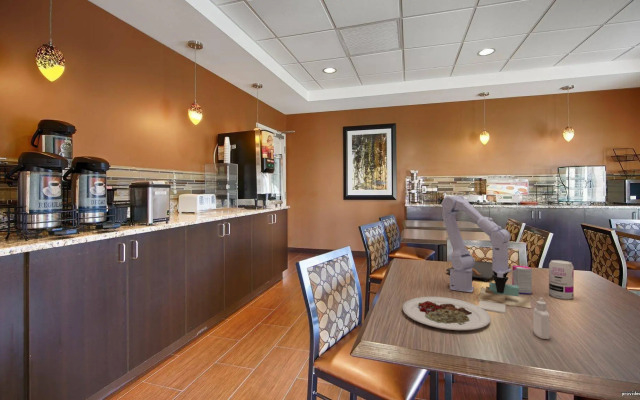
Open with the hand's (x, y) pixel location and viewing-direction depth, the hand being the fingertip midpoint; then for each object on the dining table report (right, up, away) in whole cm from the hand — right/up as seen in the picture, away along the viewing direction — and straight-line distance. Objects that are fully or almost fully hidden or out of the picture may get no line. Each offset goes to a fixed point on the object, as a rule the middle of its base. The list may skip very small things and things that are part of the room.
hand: (500, 290), depth 125 cm
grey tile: (-8, -4, -8) cm, 12 cm away
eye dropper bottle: (-6, -5, -31) cm, 32 cm away
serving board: (+14, -3, +42) cm, 45 cm away
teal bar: (+1, -1, -1) cm, 2 cm away
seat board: (+1, -4, -1) cm, 4 cm away
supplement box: (+15, -4, +9) cm, 18 cm away
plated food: (-30, -5, -14) cm, 33 cm away
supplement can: (+27, -4, +2) cm, 28 cm away
